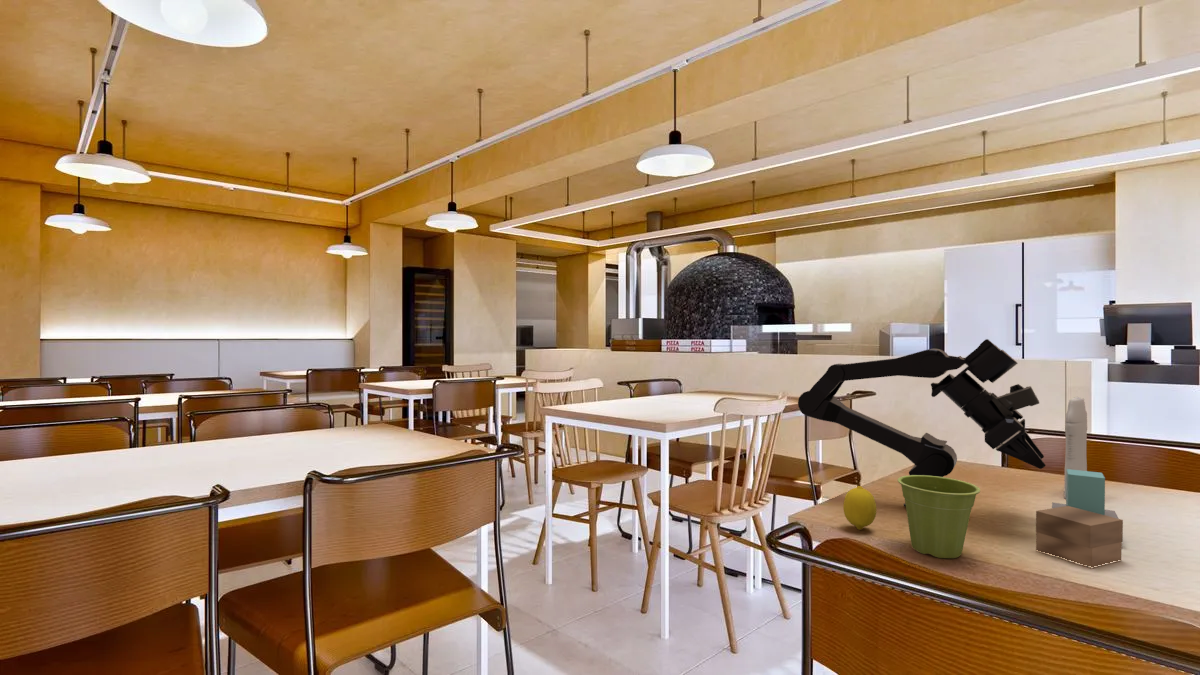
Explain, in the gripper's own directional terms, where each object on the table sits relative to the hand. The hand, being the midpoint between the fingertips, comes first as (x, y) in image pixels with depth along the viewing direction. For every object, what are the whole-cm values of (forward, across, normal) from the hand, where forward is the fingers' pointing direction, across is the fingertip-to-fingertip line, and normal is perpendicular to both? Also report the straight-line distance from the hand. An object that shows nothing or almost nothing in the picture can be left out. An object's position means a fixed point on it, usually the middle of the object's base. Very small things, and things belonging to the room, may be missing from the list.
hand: (1042, 462), depth 110 cm
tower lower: (+12, -13, +6) cm, 19 cm away
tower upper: (+10, -13, +3) cm, 17 cm away
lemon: (-11, -21, +28) cm, 36 cm away
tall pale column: (+13, +31, +4) cm, 34 cm away
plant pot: (-2, -25, +19) cm, 31 cm away
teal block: (+10, 0, +2) cm, 10 cm away
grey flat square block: (+13, 0, +4) cm, 14 cm away
